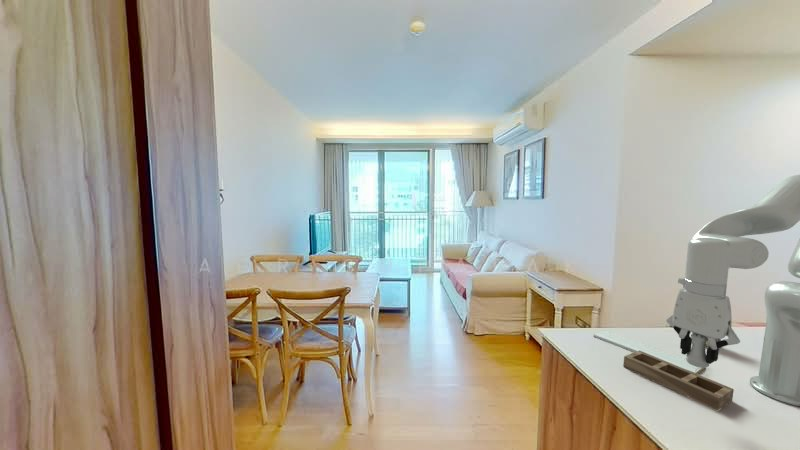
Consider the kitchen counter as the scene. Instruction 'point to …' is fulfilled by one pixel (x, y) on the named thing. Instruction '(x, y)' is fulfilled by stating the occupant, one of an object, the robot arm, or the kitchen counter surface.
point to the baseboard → (646, 350)
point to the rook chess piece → (698, 351)
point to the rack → (680, 380)
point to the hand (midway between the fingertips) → (697, 356)
